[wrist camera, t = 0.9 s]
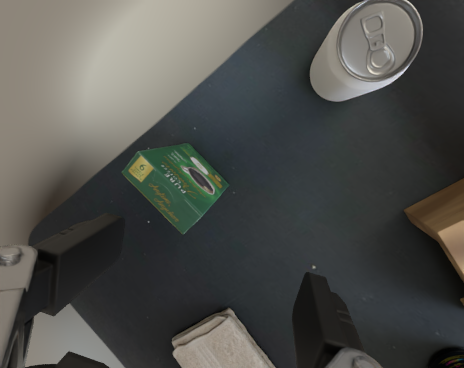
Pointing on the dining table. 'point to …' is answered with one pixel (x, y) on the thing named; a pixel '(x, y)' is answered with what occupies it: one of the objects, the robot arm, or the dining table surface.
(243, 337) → the washcloth
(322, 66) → the can
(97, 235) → the robot arm
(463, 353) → the supplement container
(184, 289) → the dining table surface
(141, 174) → the coffee box
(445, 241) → the shelf
